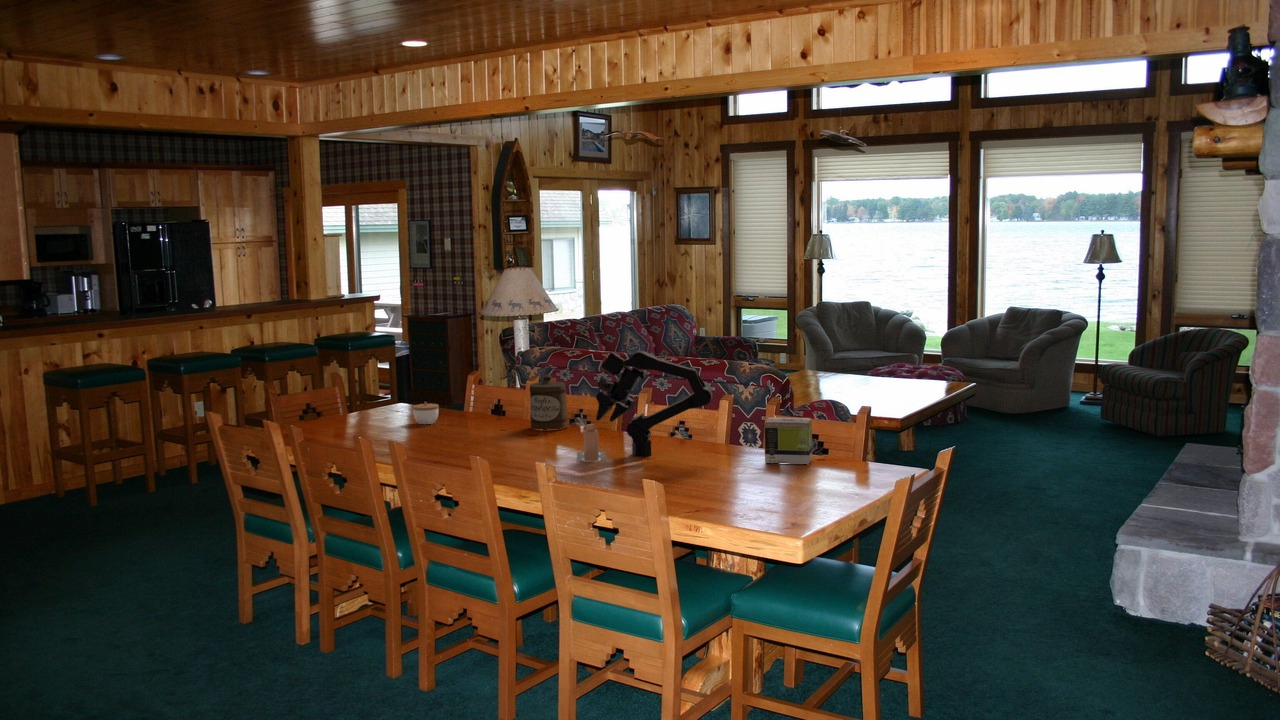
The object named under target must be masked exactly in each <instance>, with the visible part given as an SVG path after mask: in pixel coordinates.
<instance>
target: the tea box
mask: <svg viewBox="0 0 1280 720" xmlns="http://www.w3.org/2000/svg"><path fill="white" fill-rule="evenodd" d="M812 422H813V421H812V418H811V417H774V416H773V417H772V416H771V417H768V418H767V419H766V420H765V421H764V458H765V459H764V464H765V463H790V464H809V463H810V464H811V462H810V460H811V457H812V458H813V430H812V429H813V426H812V425H813V423H812ZM811 461H812V460H811Z"/></svg>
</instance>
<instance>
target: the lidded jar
mask: <svg viewBox="0 0 1280 720" xmlns="http://www.w3.org/2000/svg"><path fill="white" fill-rule="evenodd" d="M439 408H440V406H439V404H438V403H428V402H427V401H424V402H423V403H419V404H415V405H413V406H412V411H413V412H412V413H413V418H414V420H415V421H416V422H417V423H418V424H431V425H433V423H434V424H435V422H436V421H437V420H438V417H439Z"/></svg>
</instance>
